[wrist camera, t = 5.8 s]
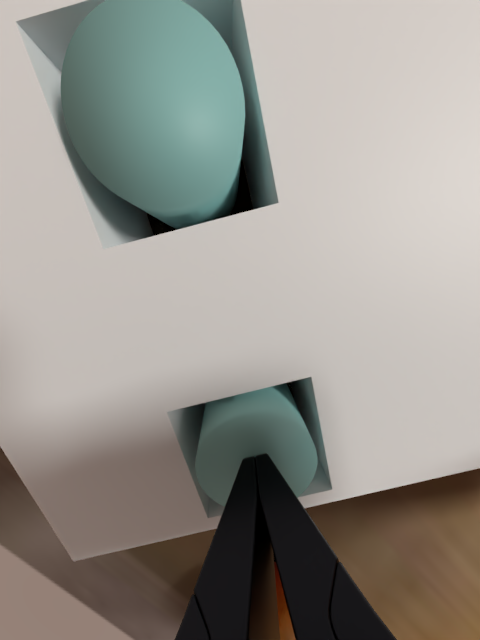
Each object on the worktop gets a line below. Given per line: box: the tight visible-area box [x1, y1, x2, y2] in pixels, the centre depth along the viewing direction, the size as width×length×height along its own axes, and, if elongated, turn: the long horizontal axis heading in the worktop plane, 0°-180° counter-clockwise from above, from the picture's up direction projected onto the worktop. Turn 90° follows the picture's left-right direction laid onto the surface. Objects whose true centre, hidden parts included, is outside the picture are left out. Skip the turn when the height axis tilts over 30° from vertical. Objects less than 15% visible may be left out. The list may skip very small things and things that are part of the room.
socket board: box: [0, 0, 480, 561], centre depth 9 cm, size 16×16×5 cm
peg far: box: [195, 383, 318, 507], centre depth 10 cm, size 4×4×5 cm
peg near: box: [61, 0, 245, 230], centre depth 7 cm, size 4×4×5 cm
